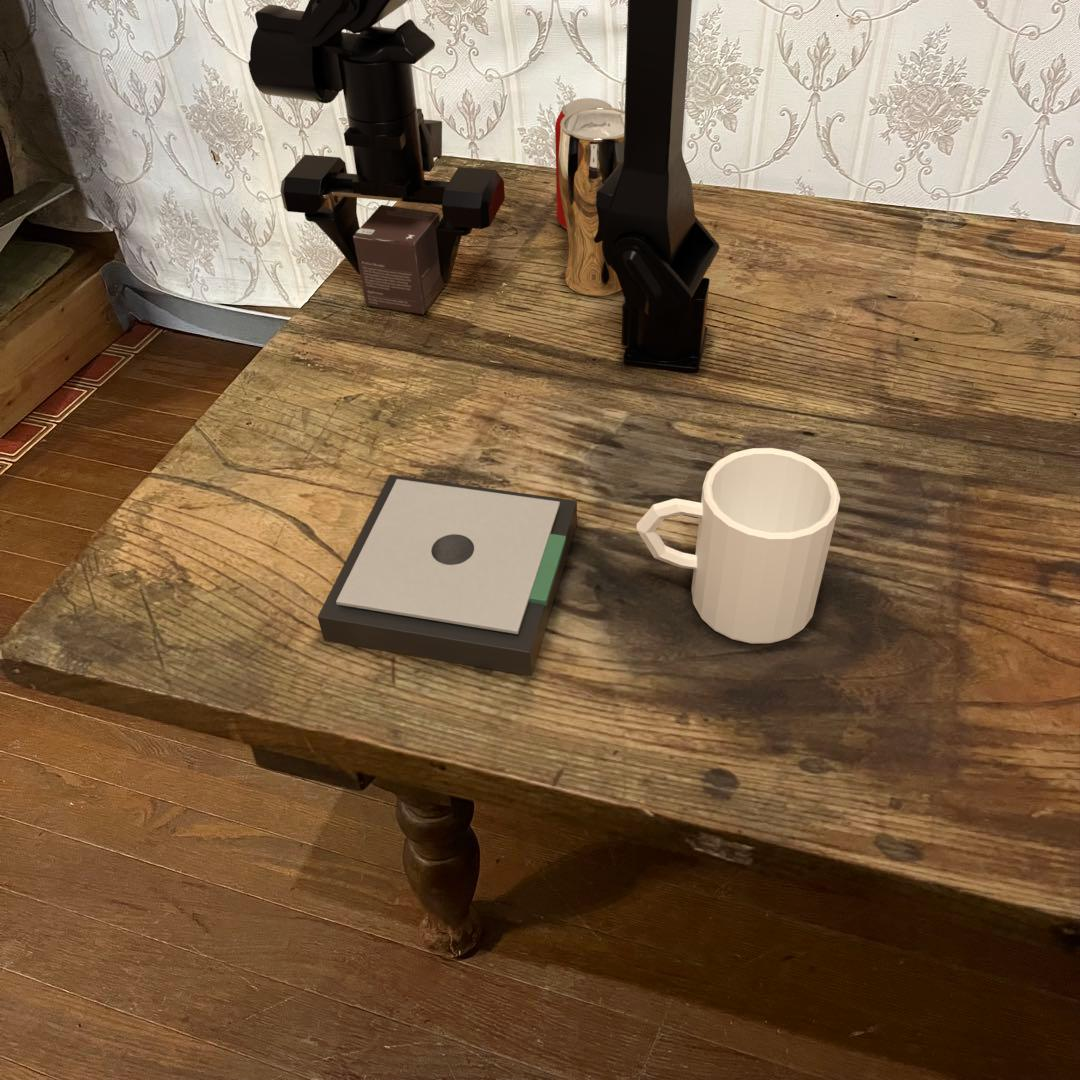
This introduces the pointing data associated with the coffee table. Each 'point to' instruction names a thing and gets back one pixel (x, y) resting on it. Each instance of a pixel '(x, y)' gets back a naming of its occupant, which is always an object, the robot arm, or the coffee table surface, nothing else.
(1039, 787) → the coffee table surface
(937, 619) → the coffee table surface
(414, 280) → the box
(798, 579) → the mug
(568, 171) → the beer glass
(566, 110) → the beverage can
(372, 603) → the scale
